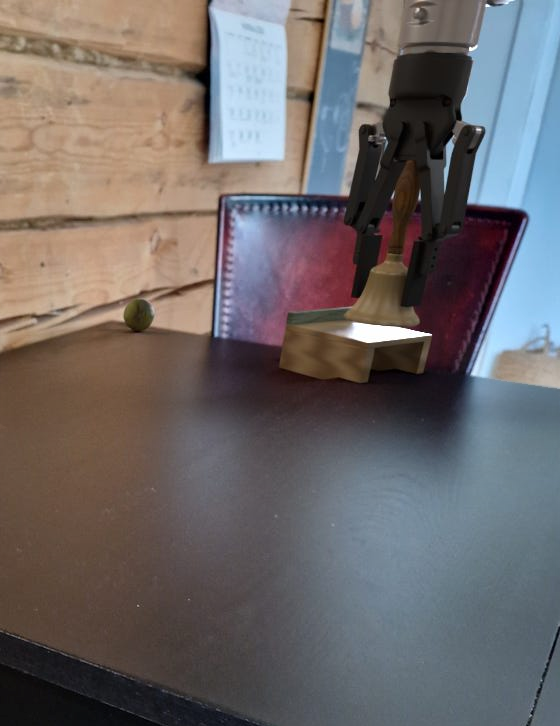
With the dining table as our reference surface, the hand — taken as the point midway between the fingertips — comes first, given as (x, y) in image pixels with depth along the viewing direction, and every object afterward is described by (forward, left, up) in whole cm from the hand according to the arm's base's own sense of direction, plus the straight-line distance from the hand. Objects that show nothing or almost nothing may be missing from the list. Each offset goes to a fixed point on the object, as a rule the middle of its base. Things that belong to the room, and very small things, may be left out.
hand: (385, 300), depth 96 cm
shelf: (+14, -16, -12) cm, 25 cm away
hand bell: (0, 0, -2) cm, 2 cm away
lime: (+50, -7, -13) cm, 52 cm away
